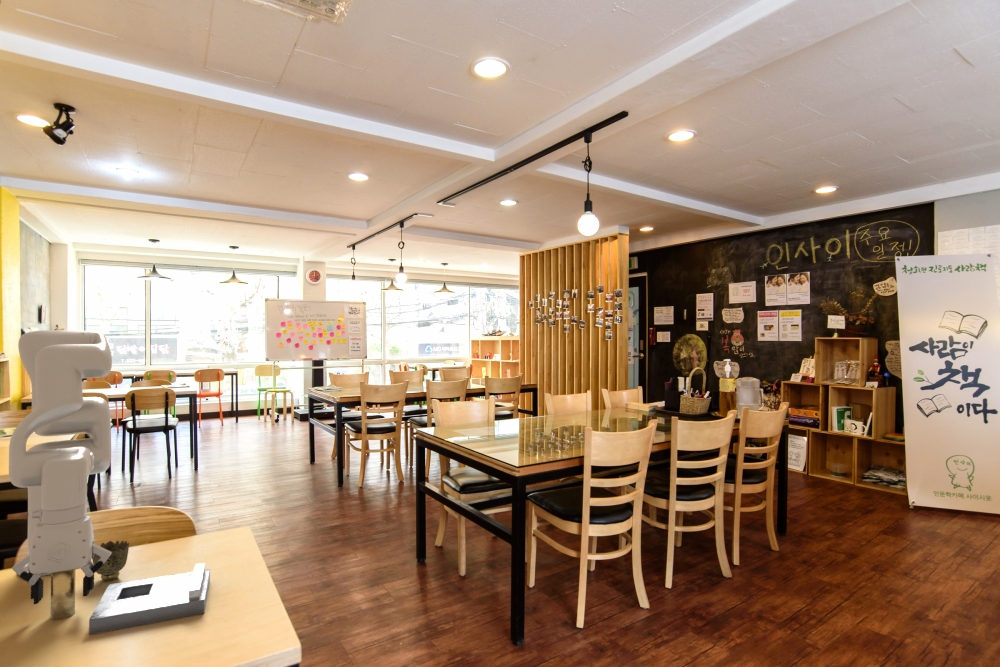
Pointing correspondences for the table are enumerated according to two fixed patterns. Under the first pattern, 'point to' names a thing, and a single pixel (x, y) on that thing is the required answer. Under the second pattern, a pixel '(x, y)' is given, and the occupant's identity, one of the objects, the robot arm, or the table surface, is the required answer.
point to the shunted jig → (151, 600)
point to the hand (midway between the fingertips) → (63, 596)
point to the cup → (112, 560)
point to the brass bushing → (62, 594)
